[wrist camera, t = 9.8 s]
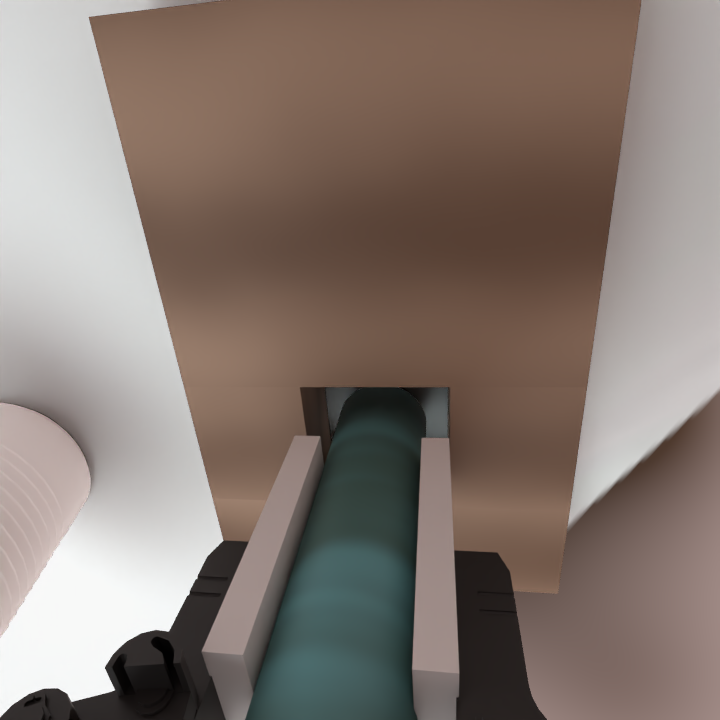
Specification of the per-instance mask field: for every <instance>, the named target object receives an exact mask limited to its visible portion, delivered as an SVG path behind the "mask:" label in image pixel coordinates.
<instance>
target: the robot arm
mask: <svg viewBox="0 0 720 720" xmlns="http://www.w3.org/2000/svg"><path fill="white" fill-rule="evenodd" d="M323 468H324V461H323V453H322V446H321V438H320V436H294V439H293V441H292V443H291V446H290V448H289V450H288V453H287V455H286V457H285V460H284V462H283V464H282V467H281V469H280V471H279V473H278V476H277V478H276V480H275V483H274V485H273V487H272V490H271V492H270V494H269V497H268V499H267V501H266V504H265V506H264V508H263V510H262V513H261V515H260V517H259V520H258V522H257V524H256V527H255V529H254V531H253V534H252V536H251V538H250V541H249V542H248V541H228V540H224V541H223V542H222V543H221V544H220V545H219V546H218V547H217V548H216V549H215V550H214V551H213V552H212V553H211V554H210V555H209V556H208V557H207V559H206V561H205V563H204V565H203V566H202V568H201V570H200V572H199V574H198V579H196V580H195V582H194V584H193V586H192V588H191V590H190V594H189V595H188V596H187V598H186V600H185V602H184V604H183V606H182V608H181V609H180V611H179V613H178V615H177V617H176V619H175V621H174V623H173V625H172V627H171V629H170V631H169V632H166V631H159V630H154V631H150V632H146V633H142V634H140V635H138V636H136V637H134V638H132V639H131V640H129V641H127V642H126V643H125V644H124V645H122V646H121V647H120V648H119V649H118V650H117V651H116V652H115V653H114V654H113V656H112V657H111V659H110V660H109V662H108V663H107V665H106V667H105V669H106V671H107V673H108V675H109V678H110V680H111V682H112V684H113V686H114V688H115V691H112V692H109V693H106V694H102V695H98V696H94V697H90V698H86V699H82V700H78V701H74V702H71V700H70V698H69V697H68V695H67V694H66V693H65V692H63V691H61V690H59V689H42V690H39V691H37V692H34V693H31V694H28V695H27V696H25V697H24V698H22V699H21V700H19V701H18V702H16V703H15V704H13V705H12V706H11V707H10V708H9V709H8V710H7V711H6V712H5V713H4V714H3V715H2V716H1V717H0V720H245V718H246V715H247V712H248V709H249V705H250V702H251V699H252V696H253V693H254V689H255V686H256V683H257V680H258V677H259V673H260V670H261V667H262V664H263V661H264V657H265V654H266V651H267V648H268V645H269V641H270V638H271V635H272V632H273V629H274V625H275V622H276V619H277V616H278V613H279V609H280V606H281V603H282V600H283V597H284V593H285V590H286V587H287V584H288V580H289V577H290V574H291V571H292V568H293V564H294V561H295V558H296V555H297V552H298V548H299V545H300V542H301V539H302V536H303V532H304V529H305V526H306V523H307V520H308V516H309V513H310V510H311V507H312V504H313V500H314V497H315V494H316V491H317V488H318V484H319V481H320V478H321V475H322V472H323ZM412 677H413V700H414V710H415V713H416V715H417V719H418V720H547V719H546V718H545V717H544V715H543V714H542V713H541V712H540V710H539V709H538V707H537V706H536V703H535V702H534V700H533V698H532V695H531V691H530V688H529V684H528V678H527V672H526V666H525V660H524V653H523V648H522V641H521V635H520V630H519V623H518V617H517V612H516V605H515V599H514V593H513V586H512V580H511V574H510V571H509V569H508V568H507V566H506V565H505V563H504V562H503V560H502V559H501V557H500V555H499V554H498V552H478V551H458V550H454V539H453V516H452V493H451V470H450V447H449V438H422V441H421V465H420V490H419V514H418V539H417V563H416V588H415V612H414V637H413V661H412Z"/></svg>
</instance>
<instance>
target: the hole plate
mask: <svg viewBox="0 0 720 720" xmlns="http://www.w3.org/2000/svg"><path fill="white" fill-rule="evenodd" d="M640 7H641V0H223V1H215V2H207V3H199V4H191V5H183V6H175V7H167V8H158V9H150V10H142V11H134V12H126V13H118V14H110V15H102V16H93V17H89V20H90V24H91V28H92V32H93V35H94V39H95V43H96V47H97V51H98V55H99V59H100V63H101V66H102V70H103V74H104V78H105V82H106V86H107V90H108V94H109V98H110V101H111V105H112V109H113V113H114V117H115V121H116V125H117V129H118V132H119V136H120V140H121V144H122V148H123V152H124V156H125V160H126V164H127V167H128V171H129V175H130V179H131V183H132V187H133V191H134V195H135V198H136V202H137V206H138V210H139V214H140V218H141V222H142V226H143V229H144V233H145V237H146V241H147V245H148V249H149V253H150V257H151V261H152V264H153V268H154V272H155V276H156V280H157V284H158V288H159V292H160V295H161V299H162V303H163V307H164V311H165V315H166V319H167V323H168V327H169V330H170V334H171V338H172V342H173V346H174V350H175V354H176V358H177V361H178V365H179V369H180V373H181V377H182V381H183V385H184V389H185V393H186V396H187V400H188V404H189V408H190V412H191V416H192V420H193V424H194V427H195V431H196V435H197V439H198V443H199V447H200V451H201V455H202V459H203V462H204V466H205V470H206V474H207V478H208V482H209V486H210V490H211V493H212V497H213V501H214V505H215V509H216V513H217V517H218V521H219V525H220V528H221V532H222V536H223V540H228V541H248V542H249V541H250V538H251V536H252V534H253V531H254V529H255V527H256V524H257V522H258V520H259V517H260V515H261V513H262V510H263V508H264V506H265V504H266V501H267V499H268V497H269V494H270V492H271V490H272V487H273V485H274V483H275V480H276V478H277V476H278V473H279V471H280V469H281V467H282V464H283V462H284V460H285V457H286V455H287V453H288V450H289V448H290V446H291V443H292V441H293V439H294V436H320V438H321V446H322V453H323V461H324V465H325V462H326V459H327V456H328V452H329V449H330V446H331V436H330V428H329V419H328V411H327V402H326V394H325V387H448V438H449V447H450V470H451V493H452V516H453V539H454V550H458V551H478V552H498V554H499V555H500V557H501V559H502V560H503V562H504V563H505V565H506V566H507V568H508V569H509V571H510V574H511V580H512V586H513V591H523V592H540V593H558V590H559V583H560V576H561V568H562V562H563V554H564V547H565V540H566V533H567V526H568V519H569V512H570V505H571V498H572V490H573V483H574V476H575V469H576V462H577V455H578V448H579V441H580V433H581V426H582V419H583V412H584V405H585V398H586V391H587V384H588V377H589V369H590V362H591V355H592V348H593V341H594V334H595V327H596V320H597V313H598V305H599V298H600V291H601V284H602V277H603V270H604V263H605V256H606V249H607V241H608V234H609V227H610V220H611V213H612V206H613V199H614V192H615V185H616V177H617V170H618V163H619V156H620V149H621V142H622V135H623V128H624V120H625V113H626V106H627V99H628V92H629V85H630V78H631V71H632V64H633V56H634V49H635V42H636V35H637V28H638V21H639V14H640Z"/></svg>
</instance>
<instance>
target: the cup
mask: <svg viewBox="0 0 720 720" xmlns="http://www.w3.org/2000/svg"><path fill="white" fill-rule="evenodd" d="M90 487H91V478H90V472H89V468H88V466H87V462H86V460H85V457H84V455H83V453H82V451H81V449H80V448H79V446H78V445H77V443H76V442H75V441H74V439H73V438H72V437H71V436H70V435H69V434H68V433H67V432H66V431H65V430H64V429H63V428H62V427H61V426H59V425H58V424H57V423H55V422H54V421H52V420H51V419H49V418H48V417H46V416H44V415H42V414H40V413H38V412H36V411H33V410H30V409H27V408H24V407H20V406H17V405H13V404H7V403H0V637H1V636H2V635H3V633H4V632H5V631H6V629H7V628H8V626H9V623H10V622H11V620H12V619H13V618H14V616H15V615H16V613H17V610H18V609H19V607H20V606H21V605H22V603H23V602H24V600H25V597H26V596H27V595H28V593H29V592H30V591H31V589H32V587H33V584H34V583H35V582H36V580H37V579H38V578H39V576H40V573H41V572H42V570H43V569H44V568H45V567H46V564H47V562H48V561H49V559H50V558H51V557H52V555H53V553H54V551H55V549H56V548H57V547H58V545H59V543H60V541H61V540H62V538H63V537H64V536H65V534H66V533H67V531H68V530H69V528H70V526H71V525H72V523H73V522H74V520H75V518H76V517H77V515H78V513H79V512H80V510H81V509H82V507H83V505H84V504H85V502H86V500H87V498H88V495H89V493H90Z"/></svg>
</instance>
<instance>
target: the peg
mask: <svg viewBox="0 0 720 720" xmlns="http://www.w3.org/2000/svg"><path fill="white" fill-rule="evenodd" d="M422 438H426V416H425V413H424V410H423V408H422V406H421V405H420V403H419V402H418V401H417V399H416V398H415V397H413V396H412V395H411V394H410V393H408V392H407V391H405V390H403V389H401V388H398V387H363V388H361V389H359V390H357V391H356V392H354V393H353V394H352V395H351V396H350V397H349V398H348V399H347V400H346V402H345V403H344V405H343V407H342V411H341V414H340V417H339V420H338V423H337V427H336V430H335V433H334V436H333V440H332V443H331V446H330V449H329V452H328V456H327V459H326V462H325V465H324V468H323V472H322V475H321V478H320V481H319V484H318V488H317V491H316V494H315V497H314V500H313V504H312V507H311V510H310V513H309V516H308V520H307V523H306V526H305V529H304V532H303V536H302V539H301V542H300V545H299V548H298V552H297V555H296V558H295V561H294V564H293V568H292V571H291V574H290V577H289V580H288V584H287V587H286V590H285V593H284V597H283V600H282V603H281V606H280V609H279V613H278V616H277V619H276V622H275V625H274V629H273V632H272V635H271V638H270V641H269V645H268V648H267V651H266V654H265V657H264V661H263V664H262V667H261V670H260V673H259V677H258V680H257V683H256V686H255V689H254V693H253V696H252V699H251V702H250V705H249V709H248V712H247V715H246V718H245V720H418V719H417V715H416V713H415V710H414V700H413V677H412V661H413V637H414V612H415V588H416V563H417V539H418V514H419V490H420V465H421V441H422Z"/></svg>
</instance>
